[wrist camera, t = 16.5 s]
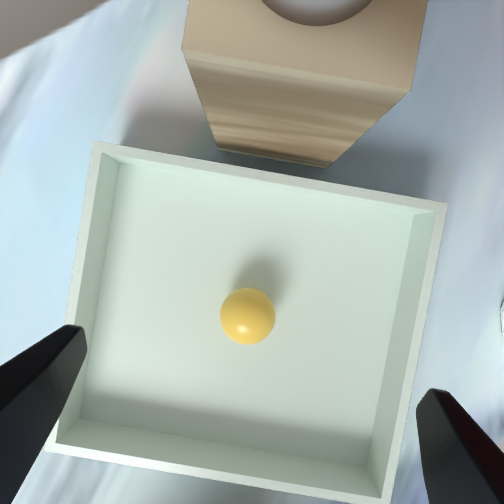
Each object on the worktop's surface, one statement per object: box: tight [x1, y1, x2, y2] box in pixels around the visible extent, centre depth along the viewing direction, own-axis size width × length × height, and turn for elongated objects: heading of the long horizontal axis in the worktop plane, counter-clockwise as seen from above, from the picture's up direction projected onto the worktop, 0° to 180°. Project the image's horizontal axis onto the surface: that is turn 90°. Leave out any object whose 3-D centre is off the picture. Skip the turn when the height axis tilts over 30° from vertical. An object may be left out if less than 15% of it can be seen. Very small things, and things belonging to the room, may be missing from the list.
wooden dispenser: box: [181, 0, 428, 169], centre depth 14 cm, size 6×6×12 cm
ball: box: [220, 288, 276, 345], centre depth 19 cm, size 3×3×3 cm
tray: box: [44, 141, 448, 504], centre depth 20 cm, size 16×18×3 cm
